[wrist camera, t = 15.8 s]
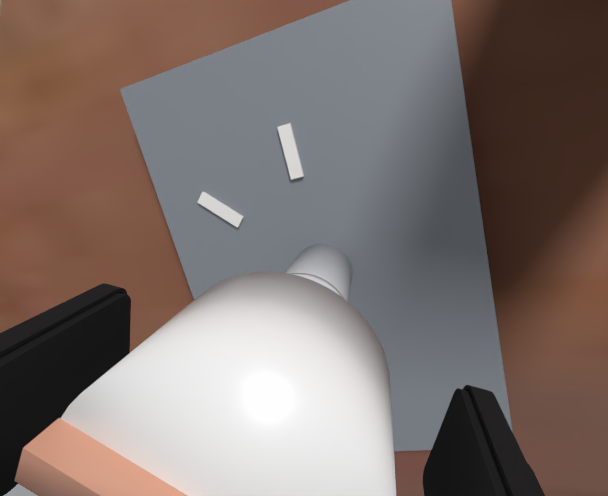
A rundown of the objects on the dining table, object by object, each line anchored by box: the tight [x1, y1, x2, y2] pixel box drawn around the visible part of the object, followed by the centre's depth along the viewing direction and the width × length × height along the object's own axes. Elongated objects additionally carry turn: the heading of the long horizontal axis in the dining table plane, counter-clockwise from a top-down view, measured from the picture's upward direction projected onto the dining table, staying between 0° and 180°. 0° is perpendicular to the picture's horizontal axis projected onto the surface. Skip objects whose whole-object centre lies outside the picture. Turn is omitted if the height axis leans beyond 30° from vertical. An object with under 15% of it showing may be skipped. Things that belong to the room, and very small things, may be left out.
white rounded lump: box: [14, 271, 396, 496], centre depth 7 cm, size 6×6×5 cm
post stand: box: [120, 0, 513, 451], centre depth 14 cm, size 22×15×10 cm
